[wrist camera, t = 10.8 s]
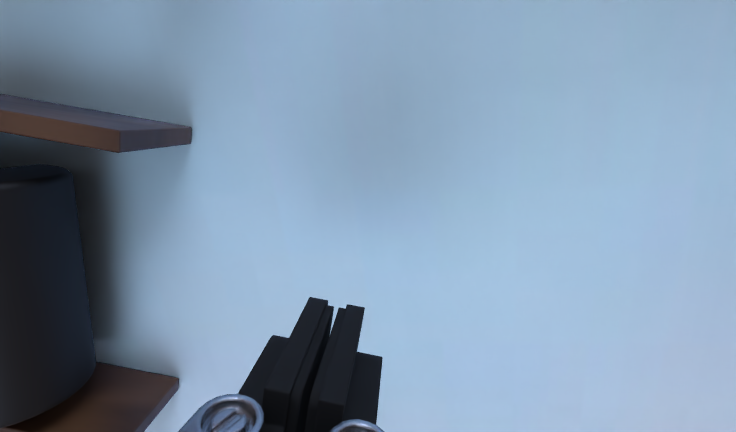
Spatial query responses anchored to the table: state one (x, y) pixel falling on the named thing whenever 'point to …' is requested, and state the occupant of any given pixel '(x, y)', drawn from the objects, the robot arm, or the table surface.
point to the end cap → (41, 293)
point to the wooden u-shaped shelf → (108, 382)
